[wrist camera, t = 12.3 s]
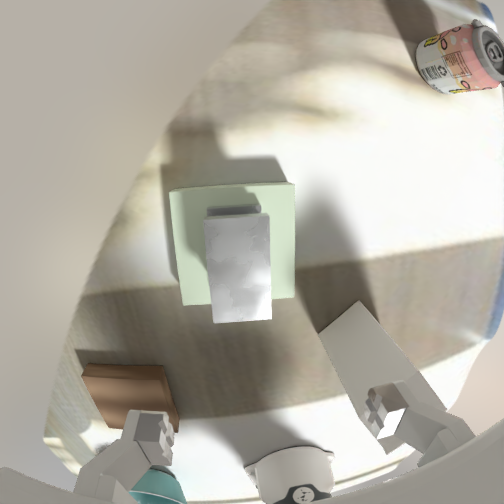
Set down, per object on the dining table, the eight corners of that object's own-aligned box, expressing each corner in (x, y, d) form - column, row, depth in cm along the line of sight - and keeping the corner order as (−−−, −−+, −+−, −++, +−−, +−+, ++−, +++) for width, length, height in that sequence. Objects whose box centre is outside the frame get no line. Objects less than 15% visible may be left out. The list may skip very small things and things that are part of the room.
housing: (259, 203, 28) (269, 215, 22) (262, 289, 30) (271, 318, 25) (207, 206, 27) (202, 220, 22) (214, 292, 30) (213, 323, 24)
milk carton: (316, 333, 37) (373, 448, 19) (358, 299, 36) (440, 398, 18) (343, 359, 39) (398, 460, 21) (381, 328, 38) (453, 419, 20)
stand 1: (179, 418, 40) (178, 432, 37) (112, 415, 39) (108, 427, 36) (162, 365, 36) (159, 380, 33) (87, 363, 35) (81, 375, 32)
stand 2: (288, 285, 34) (294, 297, 31) (186, 293, 33) (183, 305, 30) (287, 182, 30) (294, 184, 27) (174, 188, 29) (168, 192, 26)
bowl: (140, 488, 49) (137, 513, 42) (109, 459, 44) (102, 488, 36) (198, 489, 50) (198, 516, 42) (173, 460, 45) (171, 493, 37)
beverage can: (439, 34, 25) (495, 14, 13) (466, 84, 27) (525, 77, 16) (401, 47, 26) (462, 21, 14) (432, 104, 28) (499, 97, 17)
